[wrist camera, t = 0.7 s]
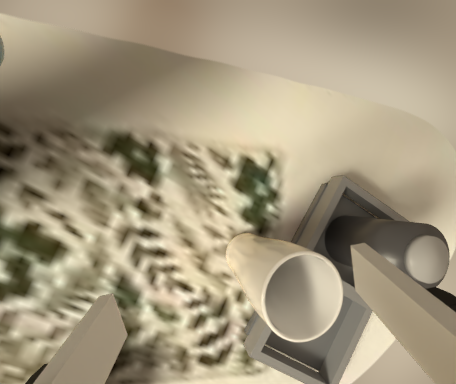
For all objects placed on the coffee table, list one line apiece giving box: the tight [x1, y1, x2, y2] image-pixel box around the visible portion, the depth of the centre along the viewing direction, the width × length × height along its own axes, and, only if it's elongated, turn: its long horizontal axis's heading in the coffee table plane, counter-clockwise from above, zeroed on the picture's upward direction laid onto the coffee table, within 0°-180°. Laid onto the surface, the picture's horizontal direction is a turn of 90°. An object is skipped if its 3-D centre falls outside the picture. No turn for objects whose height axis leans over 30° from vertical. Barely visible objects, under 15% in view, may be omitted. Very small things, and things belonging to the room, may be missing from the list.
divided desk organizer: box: [243, 176, 449, 384], centre depth 30 cm, size 13×24×13 cm, turn 149°
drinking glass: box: [226, 233, 343, 342], centre depth 26 cm, size 7×7×15 cm
